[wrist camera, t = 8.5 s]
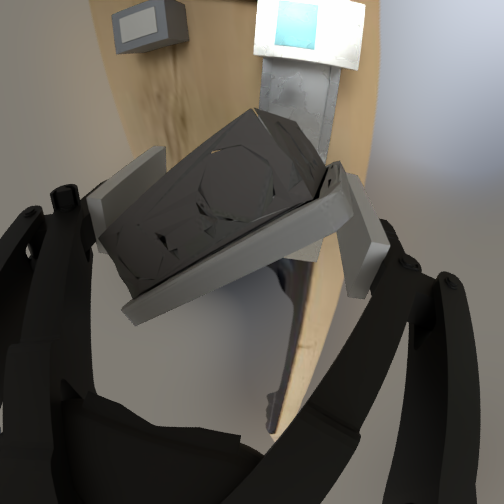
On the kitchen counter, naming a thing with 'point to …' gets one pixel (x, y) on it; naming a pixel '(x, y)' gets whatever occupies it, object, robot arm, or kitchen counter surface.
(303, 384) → the kitchen counter surface
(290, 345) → the kitchen counter surface
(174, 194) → the electrical switch
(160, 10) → the block
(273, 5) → the grey u-shaped block
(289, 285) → the kitchen counter surface
